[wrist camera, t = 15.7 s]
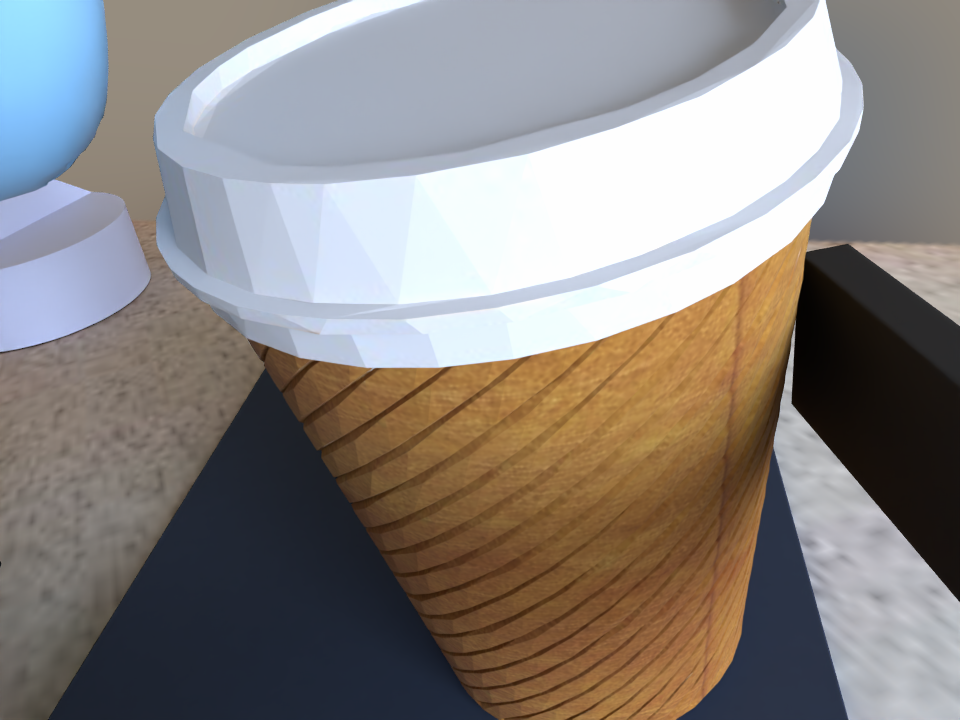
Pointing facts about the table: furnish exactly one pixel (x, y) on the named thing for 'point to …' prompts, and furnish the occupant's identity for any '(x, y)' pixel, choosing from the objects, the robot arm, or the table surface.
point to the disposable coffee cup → (527, 305)
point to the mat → (363, 608)
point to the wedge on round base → (65, 263)
